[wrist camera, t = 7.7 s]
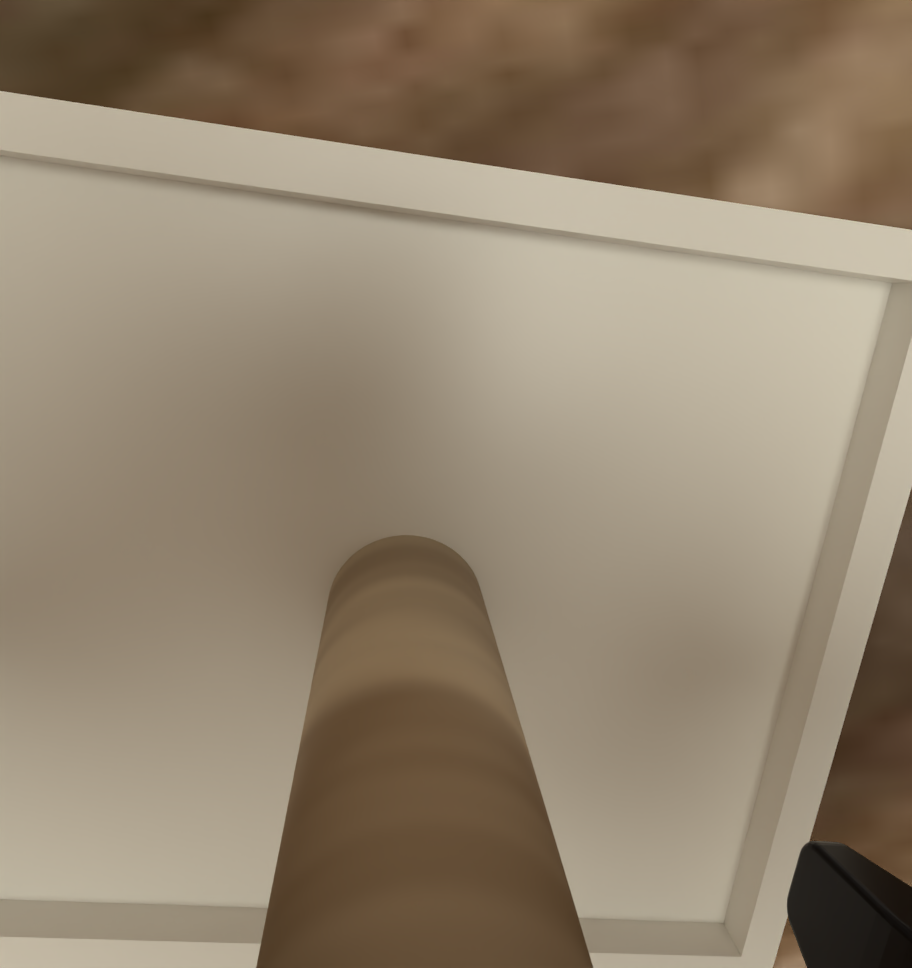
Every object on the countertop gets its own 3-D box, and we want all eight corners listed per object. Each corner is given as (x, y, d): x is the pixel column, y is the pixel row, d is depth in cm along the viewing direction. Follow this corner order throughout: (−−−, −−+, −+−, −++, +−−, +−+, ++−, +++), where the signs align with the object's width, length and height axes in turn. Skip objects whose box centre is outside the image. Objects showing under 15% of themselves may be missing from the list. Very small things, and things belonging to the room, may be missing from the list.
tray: (736, 930, 18) (767, 986, 17) (-56, 905, 16) (-99, 967, 14) (922, 245, 14) (982, 240, 13) (-99, 92, 12) (-164, 65, 11)
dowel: (471, 682, 15) (668, 1637, 4) (321, 672, 15) (144, 1682, 4) (491, 542, 14) (788, 1289, 4) (334, 528, 14) (161, 1302, 3)
